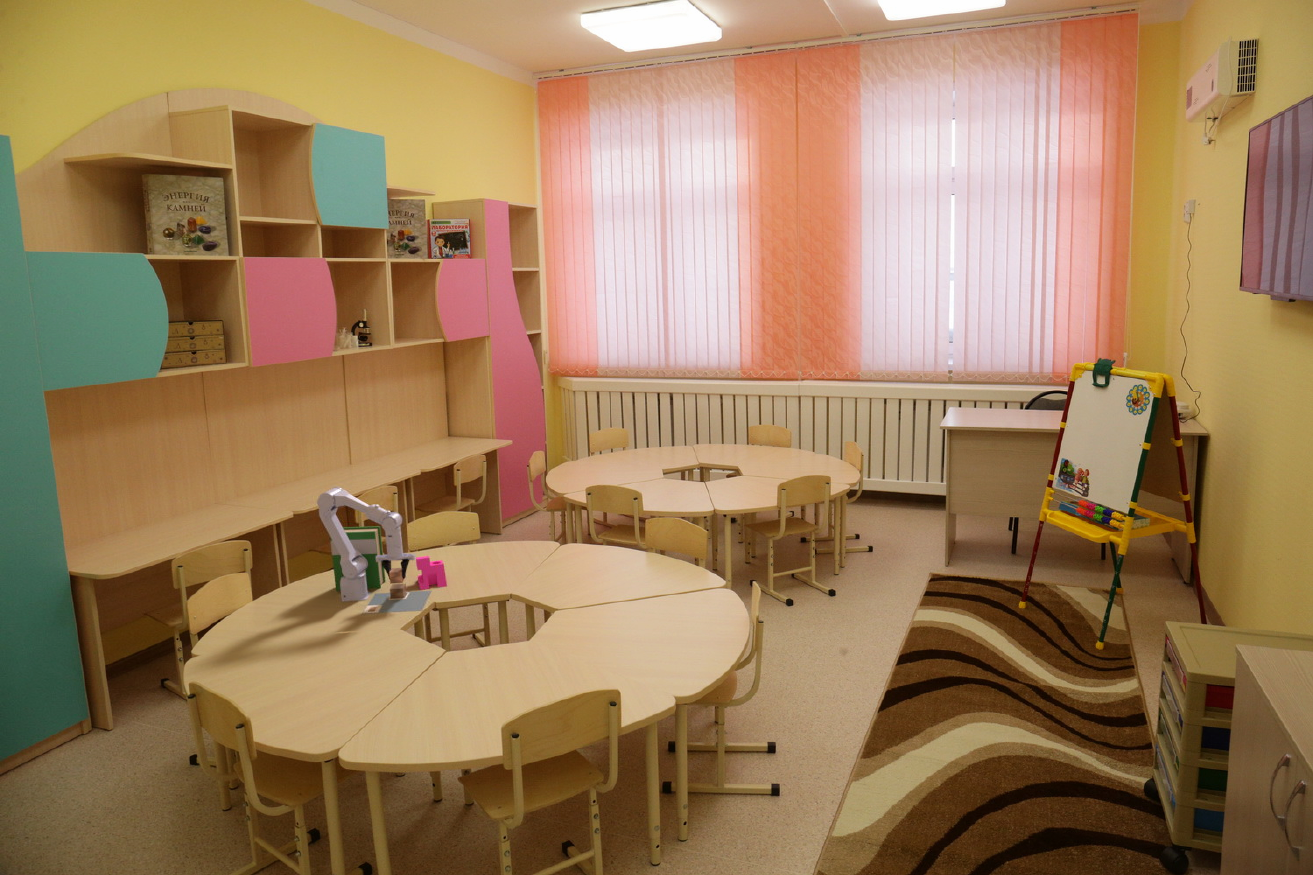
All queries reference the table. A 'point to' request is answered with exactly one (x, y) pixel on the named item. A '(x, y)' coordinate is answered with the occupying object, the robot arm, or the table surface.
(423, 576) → the bracket
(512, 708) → the table surface
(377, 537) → the hardback book
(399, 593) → the walnut block
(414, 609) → the mat
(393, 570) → the terracotta block
